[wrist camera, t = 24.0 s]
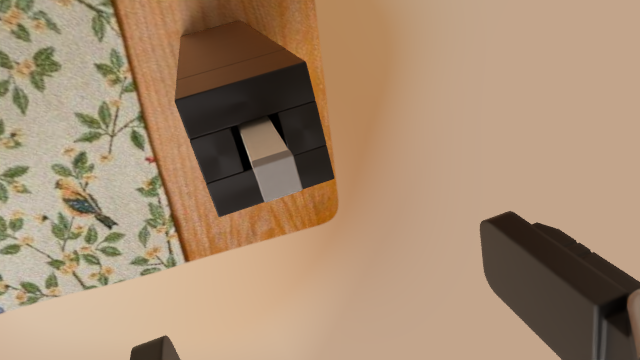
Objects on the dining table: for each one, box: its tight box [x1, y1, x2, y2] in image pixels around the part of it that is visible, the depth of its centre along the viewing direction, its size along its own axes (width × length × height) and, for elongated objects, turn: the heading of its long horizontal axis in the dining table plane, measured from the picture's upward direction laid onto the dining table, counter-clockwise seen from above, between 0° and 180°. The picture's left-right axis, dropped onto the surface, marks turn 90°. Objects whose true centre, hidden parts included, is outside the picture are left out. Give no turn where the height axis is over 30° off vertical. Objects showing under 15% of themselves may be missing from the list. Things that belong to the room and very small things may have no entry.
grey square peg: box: [237, 116, 302, 202], centre depth 23 cm, size 2×2×10 cm
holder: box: [175, 20, 334, 217], centre depth 37 cm, size 6×6×30 cm
